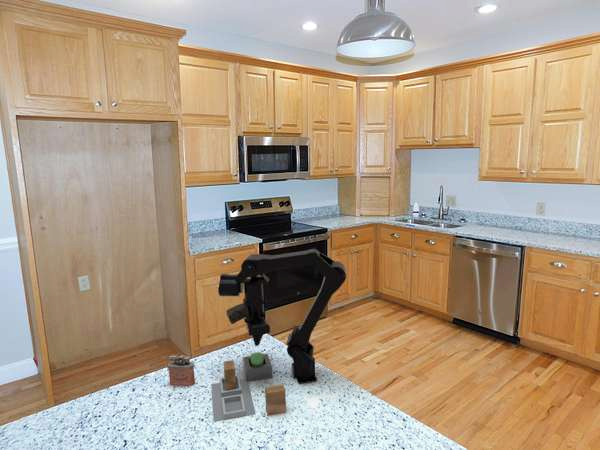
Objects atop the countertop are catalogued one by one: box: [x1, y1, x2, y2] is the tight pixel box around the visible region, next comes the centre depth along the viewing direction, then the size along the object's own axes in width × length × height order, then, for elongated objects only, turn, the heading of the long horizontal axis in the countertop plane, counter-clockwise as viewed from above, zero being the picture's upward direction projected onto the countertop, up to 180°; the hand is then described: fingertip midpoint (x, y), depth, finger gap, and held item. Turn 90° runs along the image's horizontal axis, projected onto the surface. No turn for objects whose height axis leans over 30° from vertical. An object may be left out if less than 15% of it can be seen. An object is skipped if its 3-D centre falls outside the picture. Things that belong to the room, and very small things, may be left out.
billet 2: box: [264, 383, 287, 417], centre depth 106 cm, size 3×5×8 cm, turn 104°
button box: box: [242, 353, 273, 383], centre depth 124 cm, size 8×8×5 cm
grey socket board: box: [210, 375, 256, 423], centre depth 112 cm, size 11×18×2 cm, turn 14°
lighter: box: [167, 354, 196, 387], centre depth 119 cm, size 8×3×10 cm, turn 84°
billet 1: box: [222, 360, 237, 391], centre depth 116 cm, size 3×5×8 cm, turn 15°
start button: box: [250, 351, 264, 366], centre depth 124 cm, size 4×4×4 cm
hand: (256, 343), depth 123 cm, fingers open, 2 cm apart
